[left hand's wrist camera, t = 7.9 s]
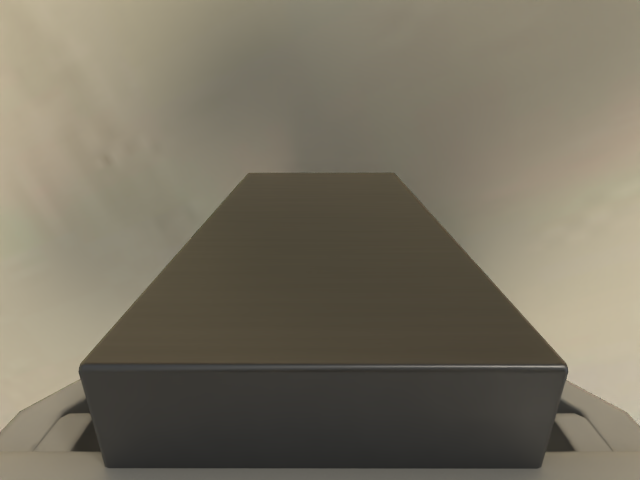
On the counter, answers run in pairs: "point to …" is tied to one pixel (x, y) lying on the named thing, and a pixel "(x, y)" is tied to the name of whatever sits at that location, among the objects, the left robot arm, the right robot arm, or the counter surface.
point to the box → (323, 343)
